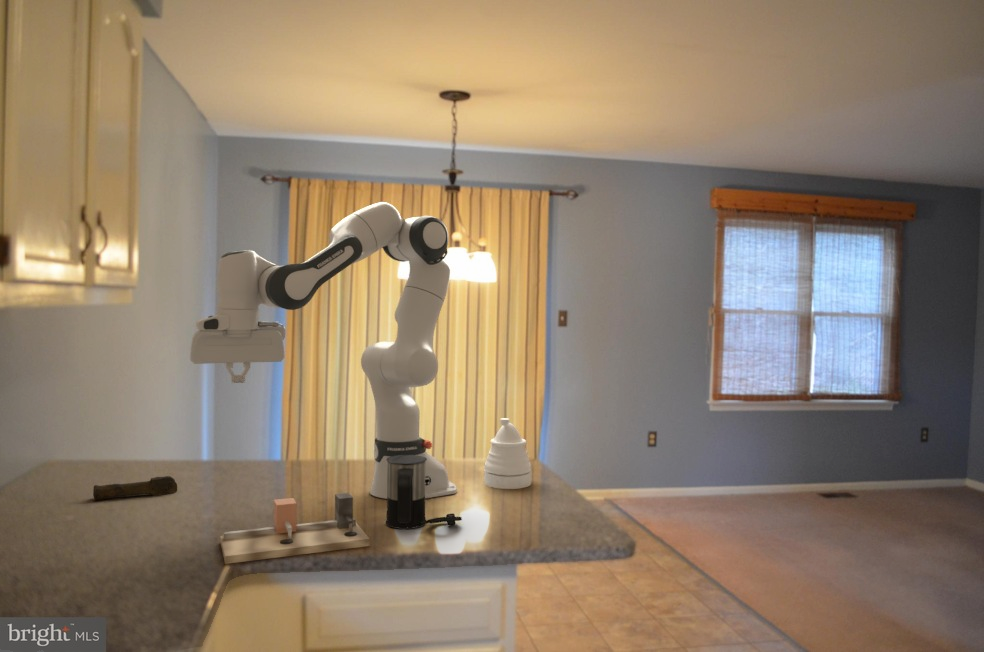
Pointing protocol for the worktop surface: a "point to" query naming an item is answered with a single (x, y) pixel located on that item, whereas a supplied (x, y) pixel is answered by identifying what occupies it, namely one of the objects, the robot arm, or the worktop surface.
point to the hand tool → (136, 488)
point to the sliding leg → (285, 516)
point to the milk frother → (408, 493)
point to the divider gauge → (297, 537)
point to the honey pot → (507, 459)
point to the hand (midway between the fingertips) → (238, 382)
